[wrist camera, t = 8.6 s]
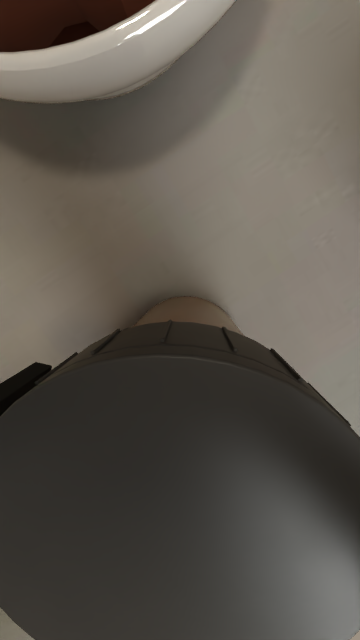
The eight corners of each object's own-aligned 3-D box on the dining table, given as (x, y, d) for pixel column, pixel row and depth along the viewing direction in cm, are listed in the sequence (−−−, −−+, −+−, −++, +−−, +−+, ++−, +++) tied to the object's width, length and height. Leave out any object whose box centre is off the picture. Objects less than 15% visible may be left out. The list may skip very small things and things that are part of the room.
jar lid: (167, 247, 7) (149, 233, 4) (392, 462, 8) (501, 568, 5) (-17, 459, 9) (-113, 548, 6) (184, 606, 10) (182, 736, 8)
